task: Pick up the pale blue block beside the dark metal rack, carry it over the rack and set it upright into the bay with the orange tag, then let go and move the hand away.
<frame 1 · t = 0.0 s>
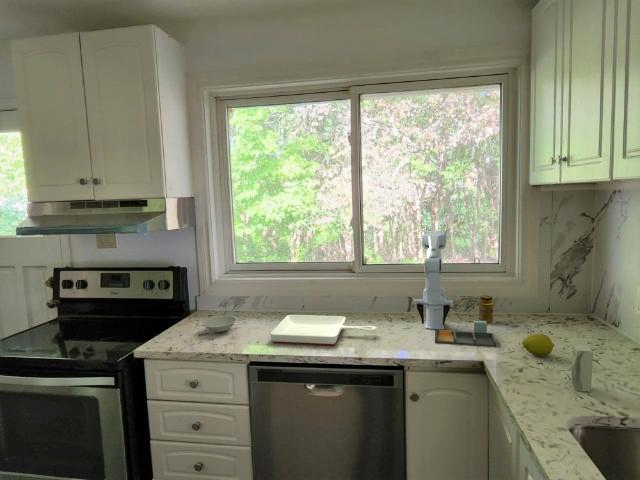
hand: (433, 323, 162), 10 cm above the worktop, tool pointing down, fingers open, 7 cm apart
pale blue block: (480, 333, 180), on the worktop
dish: (220, 331, 193), on the worktop
lemon: (537, 356, 154), on the worktop
condiment: (484, 322, 195), on the worktop
box: (580, 388, 128), on the worktop
rack: (464, 340, 172), on the worktop
pan: (327, 336, 184), on the worktop
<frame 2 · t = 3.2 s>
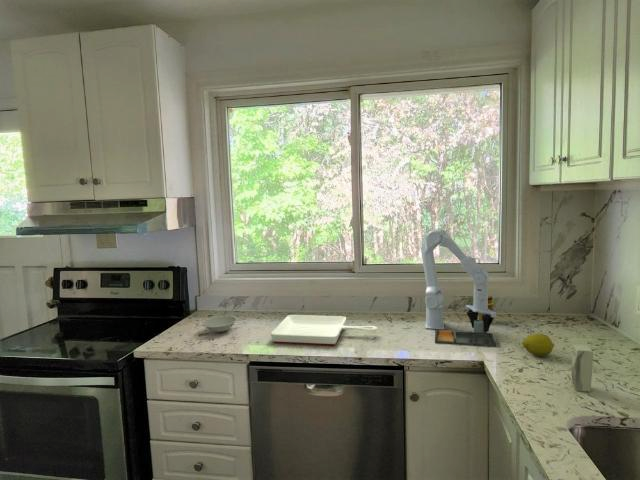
hand: (480, 329, 180), 1 cm above the worktop, tool pointing down, fingers closed on pale blue block, 6 cm apart
pale blue block: (480, 332, 180), on the worktop, touching gripper
everything else where it was.
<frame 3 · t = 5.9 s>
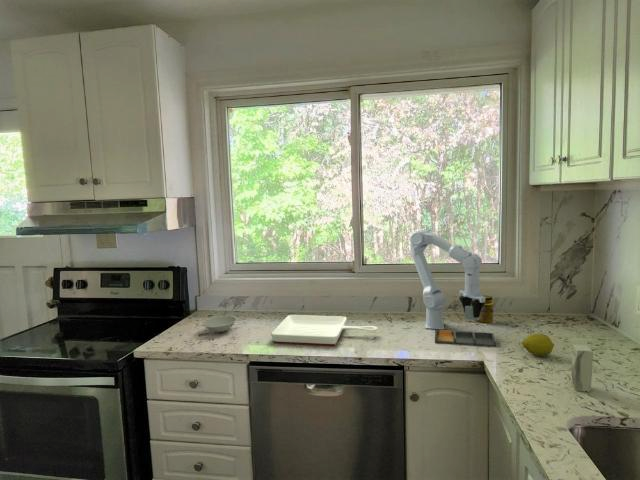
hand: (471, 315, 178), 8 cm above the worktop, tool pointing down, fingers closed on pale blue block, 6 cm apart
pale blue block: (471, 318, 178), point 7 cm above the worktop, touching gripper
everything else where it was.
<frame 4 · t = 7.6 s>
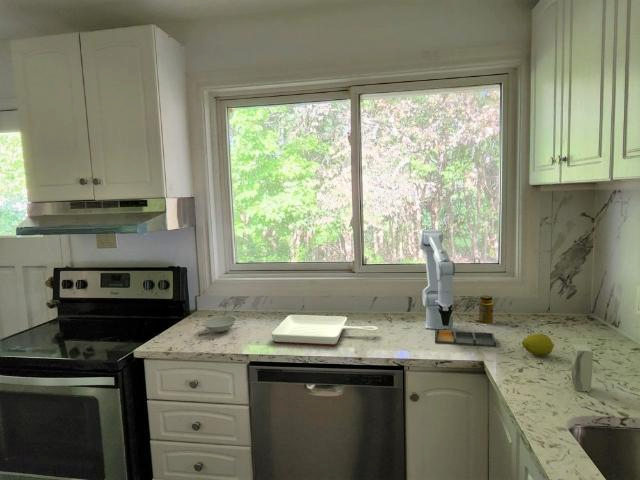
hand: (445, 323, 173), 7 cm above the worktop, tool pointing down, fingers closed on pale blue block, 6 cm apart
pale blue block: (445, 326, 173), point 5 cm above the worktop, touching gripper
everything else where it was.
when the fingers open (3 cm above the worktop, at t = 9.0 s): pale blue block stays where it is, resting on rack.
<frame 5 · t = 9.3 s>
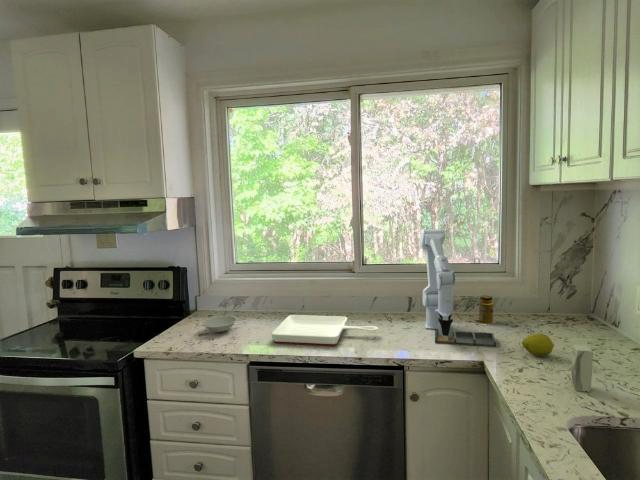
hand: (445, 332, 173), 3 cm above the worktop, tool pointing down, fingers open, 7 cm apart
pale blue block: (445, 337, 173), point 1 cm above the worktop, touching rack
everything else where it was.
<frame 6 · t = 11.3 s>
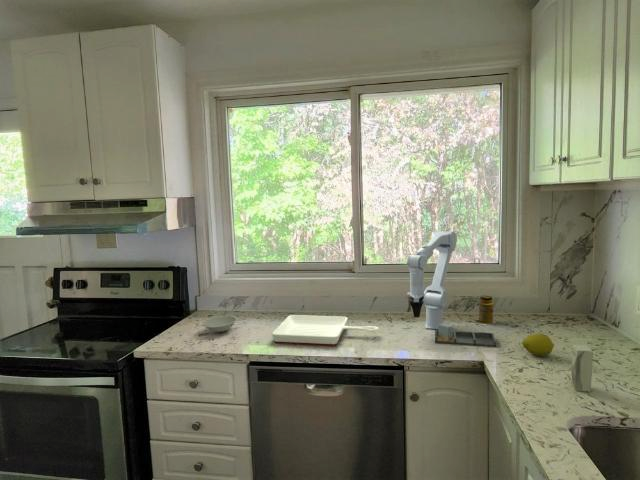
hand: (417, 314, 178), 9 cm above the worktop, tool pointing down, fingers open, 7 cm apart
nothing on the worktop moved.
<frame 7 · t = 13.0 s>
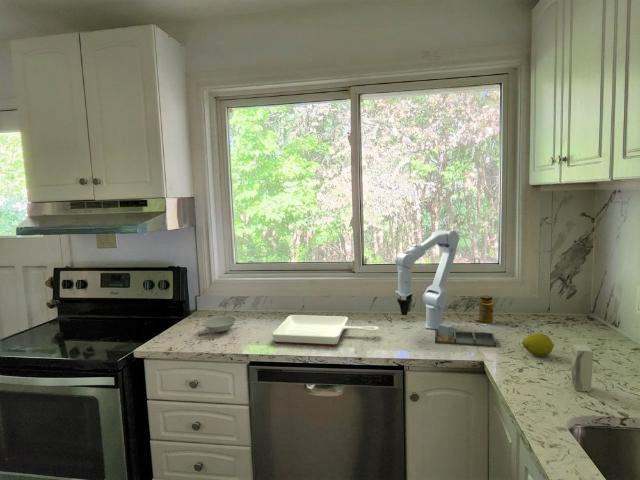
hand: (405, 312, 181), 9 cm above the worktop, tool pointing down, fingers open, 7 cm apart
nothing on the worktop moved.
at the end: pale blue block 0.1 cm from the target spot on the rack, point 1.0 cm above the rack's base; pale blue block tilted 0°; the gripper is holding nothing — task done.
